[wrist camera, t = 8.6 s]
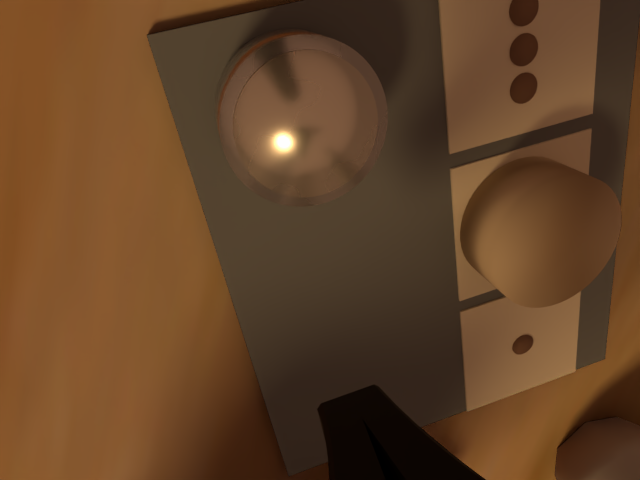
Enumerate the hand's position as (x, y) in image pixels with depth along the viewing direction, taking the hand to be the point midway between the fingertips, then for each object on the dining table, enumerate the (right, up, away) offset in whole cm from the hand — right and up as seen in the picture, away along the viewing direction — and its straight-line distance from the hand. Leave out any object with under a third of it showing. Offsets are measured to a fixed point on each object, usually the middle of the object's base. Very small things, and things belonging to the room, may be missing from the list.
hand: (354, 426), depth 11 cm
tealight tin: (-2, +8, +3) cm, 8 cm away
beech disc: (+6, +5, +6) cm, 10 cm away
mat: (+3, +4, +6) cm, 8 cm away
